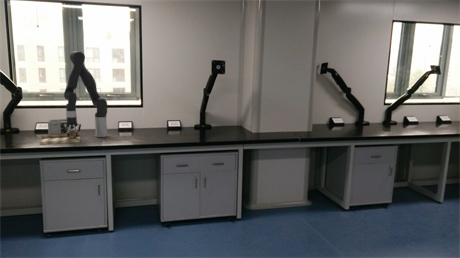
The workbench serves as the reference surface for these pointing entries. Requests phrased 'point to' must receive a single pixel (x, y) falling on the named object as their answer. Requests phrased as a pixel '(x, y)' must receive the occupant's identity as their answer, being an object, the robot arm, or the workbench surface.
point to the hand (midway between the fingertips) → (72, 136)
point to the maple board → (59, 139)
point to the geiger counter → (57, 127)
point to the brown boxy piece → (72, 133)
